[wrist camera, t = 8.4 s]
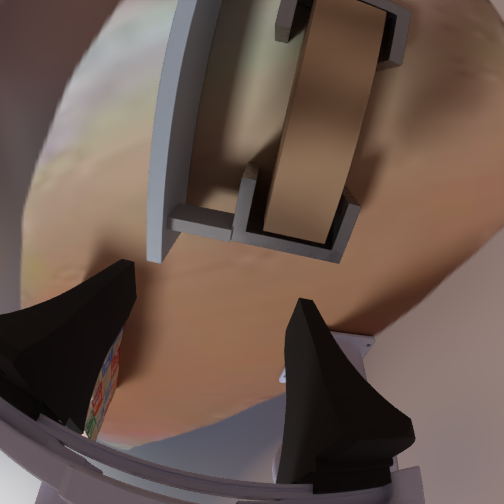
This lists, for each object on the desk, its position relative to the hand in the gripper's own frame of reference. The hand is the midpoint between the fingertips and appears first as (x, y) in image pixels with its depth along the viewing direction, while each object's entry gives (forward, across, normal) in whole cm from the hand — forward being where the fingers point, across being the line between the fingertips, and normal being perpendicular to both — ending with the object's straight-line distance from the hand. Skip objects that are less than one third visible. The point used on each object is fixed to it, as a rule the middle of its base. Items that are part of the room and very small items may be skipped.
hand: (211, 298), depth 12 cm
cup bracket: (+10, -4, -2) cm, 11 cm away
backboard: (+10, +2, -8) cm, 13 cm away
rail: (+10, -4, -8) cm, 13 cm away
